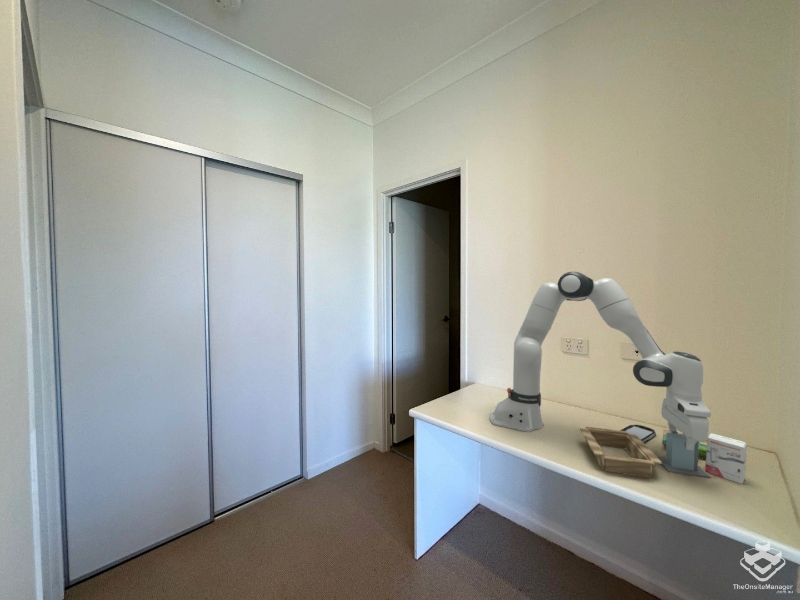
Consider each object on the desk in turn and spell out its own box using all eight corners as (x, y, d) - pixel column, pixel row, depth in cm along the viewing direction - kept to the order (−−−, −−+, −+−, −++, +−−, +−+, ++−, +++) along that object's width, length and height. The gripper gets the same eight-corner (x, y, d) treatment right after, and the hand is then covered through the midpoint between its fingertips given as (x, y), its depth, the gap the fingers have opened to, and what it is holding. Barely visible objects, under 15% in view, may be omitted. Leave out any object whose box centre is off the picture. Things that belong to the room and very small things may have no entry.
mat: (668, 472, 104) (668, 470, 104) (655, 458, 112) (655, 456, 112) (710, 478, 100) (710, 476, 100) (693, 463, 109) (693, 461, 109)
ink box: (704, 471, 104) (706, 436, 104) (707, 466, 107) (708, 432, 107) (743, 484, 97) (745, 447, 97) (745, 479, 100) (746, 442, 100)
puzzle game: (663, 427, 127) (736, 444, 114) (663, 439, 127) (735, 457, 114) (662, 437, 118) (741, 457, 105) (662, 450, 118) (740, 470, 105)
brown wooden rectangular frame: (664, 483, 98) (665, 465, 98) (595, 472, 103) (596, 456, 103) (633, 446, 120) (633, 432, 120) (578, 439, 126) (578, 425, 126)
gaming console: (633, 427, 138) (634, 421, 138) (659, 435, 130) (659, 429, 130) (612, 438, 127) (612, 432, 127) (638, 448, 120) (638, 441, 120)
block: (671, 467, 105) (672, 437, 105) (665, 460, 109) (666, 432, 109) (697, 470, 103) (698, 440, 103) (690, 464, 107) (691, 435, 107)
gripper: (657, 390, 116) (654, 427, 117) (688, 411, 97) (686, 455, 97) (677, 392, 114) (675, 430, 115) (714, 414, 95) (711, 459, 95)
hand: (680, 442), depth 106 cm, fingers open, 8 cm apart
